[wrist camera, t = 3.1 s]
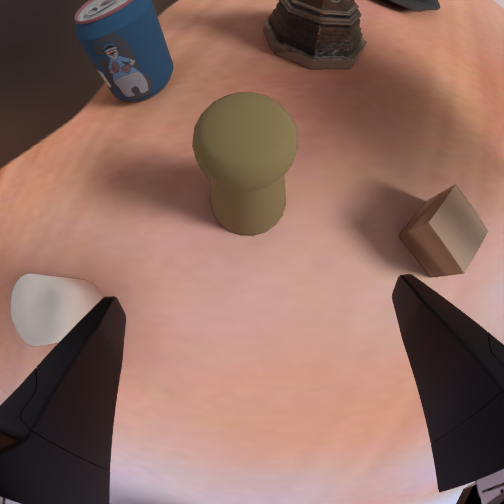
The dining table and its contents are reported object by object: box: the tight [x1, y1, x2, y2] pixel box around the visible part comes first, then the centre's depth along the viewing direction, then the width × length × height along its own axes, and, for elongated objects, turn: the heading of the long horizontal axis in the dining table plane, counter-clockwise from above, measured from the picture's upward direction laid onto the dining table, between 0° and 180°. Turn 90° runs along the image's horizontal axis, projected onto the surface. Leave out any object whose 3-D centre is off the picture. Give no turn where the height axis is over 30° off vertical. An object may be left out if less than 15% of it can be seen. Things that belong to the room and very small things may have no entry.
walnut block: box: [398, 184, 488, 278], centre depth 20 cm, size 5×5×5 cm
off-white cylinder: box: [11, 274, 102, 347], centre depth 18 cm, size 5×5×7 cm
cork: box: [192, 92, 298, 236], centre depth 17 cm, size 6×6×11 cm
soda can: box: [74, 0, 173, 102], centre depth 19 cm, size 7×7×12 cm
